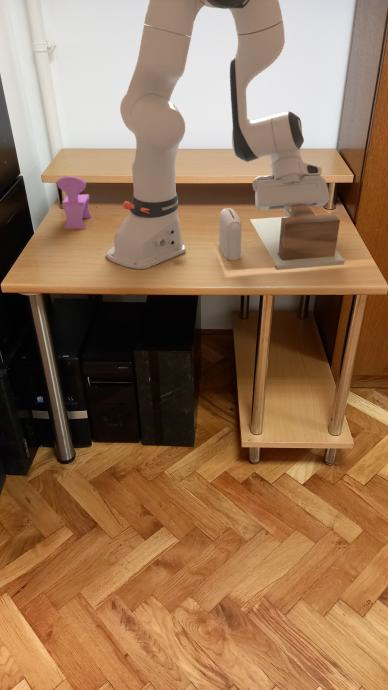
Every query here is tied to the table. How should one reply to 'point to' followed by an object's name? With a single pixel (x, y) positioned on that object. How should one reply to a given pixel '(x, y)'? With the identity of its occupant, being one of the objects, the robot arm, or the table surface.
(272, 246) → the board
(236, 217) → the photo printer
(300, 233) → the t block
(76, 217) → the toy chair
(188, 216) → the table surface
